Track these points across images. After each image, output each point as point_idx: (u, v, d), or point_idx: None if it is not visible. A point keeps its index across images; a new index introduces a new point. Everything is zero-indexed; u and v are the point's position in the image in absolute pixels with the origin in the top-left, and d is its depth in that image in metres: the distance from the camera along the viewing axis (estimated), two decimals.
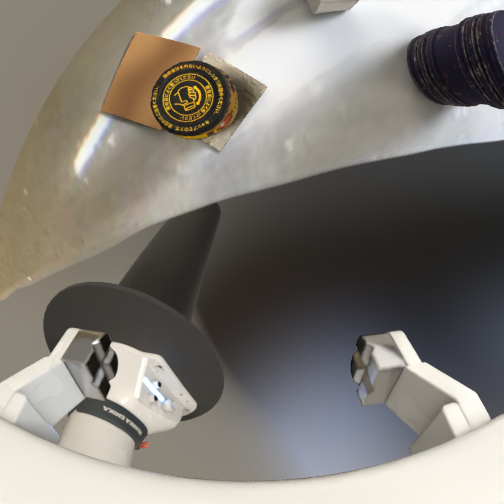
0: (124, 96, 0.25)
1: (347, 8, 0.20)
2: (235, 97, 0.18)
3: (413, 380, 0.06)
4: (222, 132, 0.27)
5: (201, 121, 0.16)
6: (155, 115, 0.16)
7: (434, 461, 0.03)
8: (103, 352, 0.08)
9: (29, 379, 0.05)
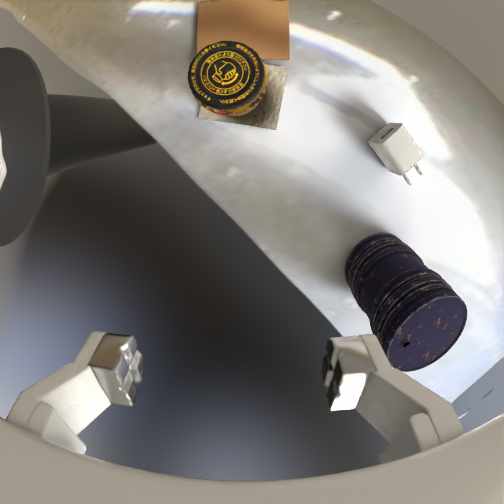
0: (218, 15, 0.22)
1: (388, 168, 0.29)
2: (245, 109, 0.20)
3: (382, 387, 0.06)
4: None
5: (207, 93, 0.17)
6: (198, 54, 0.15)
7: (434, 461, 0.03)
8: (131, 356, 0.08)
9: (54, 387, 0.05)
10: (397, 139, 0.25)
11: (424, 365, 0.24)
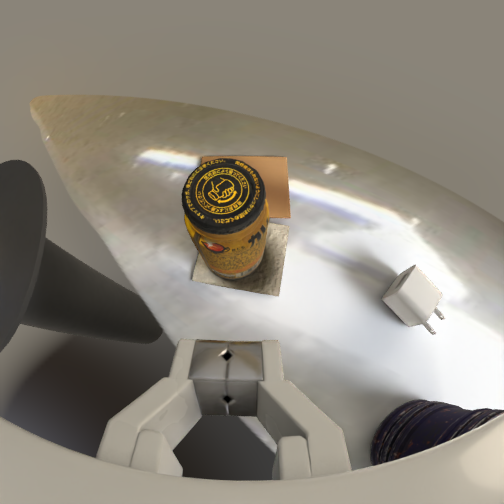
0: None
1: (408, 323, 0.25)
2: (244, 246, 0.19)
3: (267, 398, 0.06)
4: (212, 274, 0.27)
5: (201, 211, 0.16)
6: (195, 170, 0.17)
7: (434, 461, 0.03)
8: None
9: (156, 409, 0.05)
10: (413, 282, 0.23)
11: None
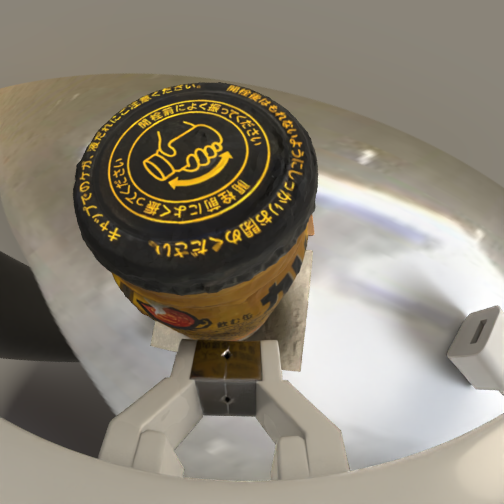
0: None
1: (478, 386, 0.13)
2: (250, 313, 0.07)
3: (266, 398, 0.06)
4: (184, 335, 0.15)
5: (113, 216, 0.04)
6: (122, 110, 0.06)
7: (434, 461, 0.03)
8: None
9: (157, 410, 0.05)
10: (498, 335, 0.12)
11: None
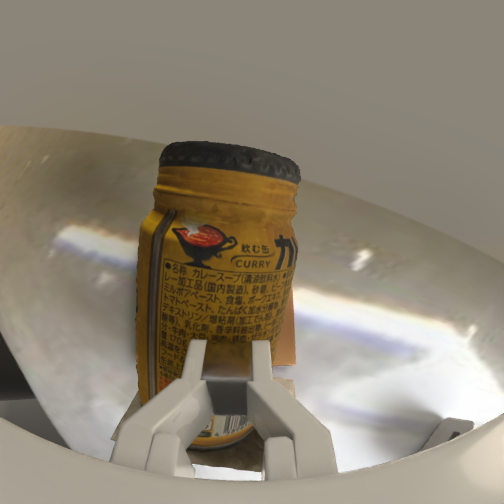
0: None
1: None
2: (267, 247, 0.08)
3: (256, 399, 0.06)
4: None
5: None
6: None
7: (434, 461, 0.03)
8: None
9: (170, 412, 0.05)
10: None
11: None
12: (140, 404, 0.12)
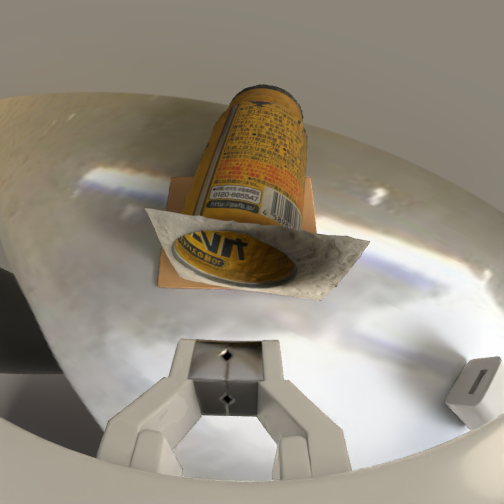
0: None
1: (473, 428, 0.12)
2: (291, 112, 0.15)
3: (268, 398, 0.06)
4: (192, 229, 0.11)
5: None
6: None
7: (434, 461, 0.03)
8: None
9: (156, 410, 0.05)
10: (496, 386, 0.11)
11: None
12: (171, 245, 0.13)
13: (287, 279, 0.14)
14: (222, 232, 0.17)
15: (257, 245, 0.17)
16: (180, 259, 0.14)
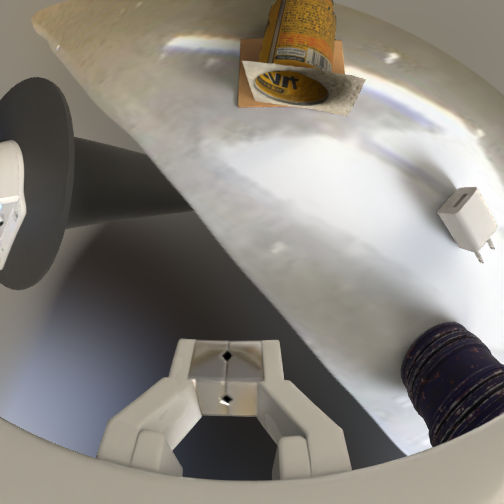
0: None
1: (459, 244, 0.22)
2: (323, 2, 0.16)
3: (267, 398, 0.06)
4: (268, 70, 0.17)
5: None
6: None
7: (434, 461, 0.03)
8: None
9: (156, 410, 0.05)
10: (472, 207, 0.18)
11: None
12: (253, 80, 0.19)
13: (324, 99, 0.20)
14: (281, 72, 0.22)
15: (304, 80, 0.22)
16: (257, 88, 0.20)
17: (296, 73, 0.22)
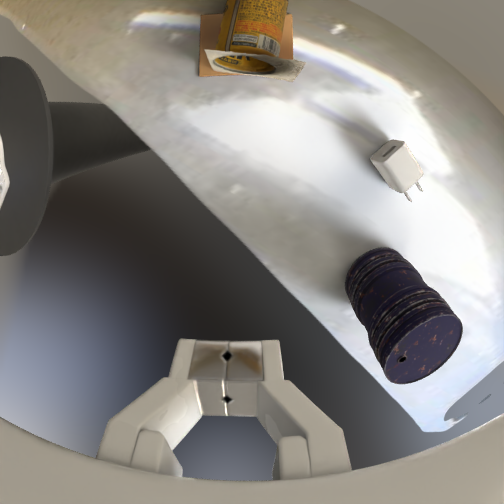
0: None
1: (389, 185, 0.30)
2: None
3: (267, 398, 0.06)
4: (226, 55, 0.20)
5: None
6: None
7: (434, 461, 0.03)
8: None
9: (156, 409, 0.05)
10: (399, 158, 0.26)
11: (420, 378, 0.25)
12: (213, 59, 0.21)
13: (272, 71, 0.23)
14: None
15: None
16: (216, 64, 0.23)
17: None
